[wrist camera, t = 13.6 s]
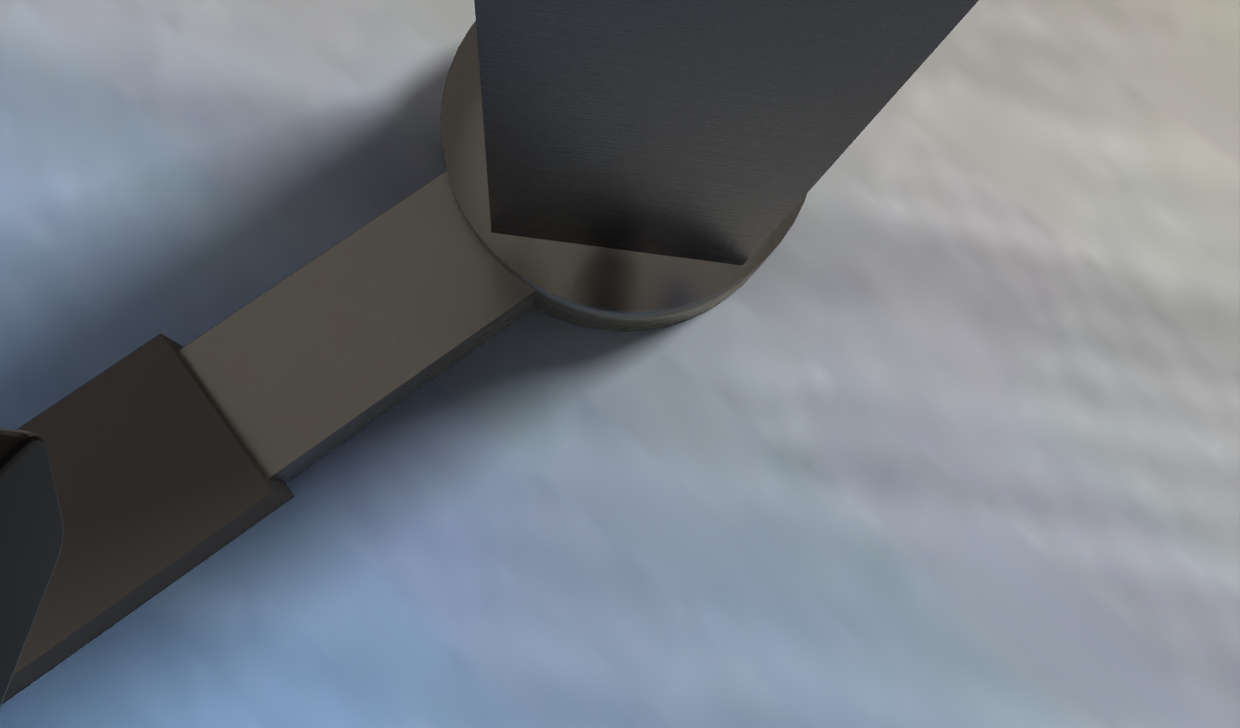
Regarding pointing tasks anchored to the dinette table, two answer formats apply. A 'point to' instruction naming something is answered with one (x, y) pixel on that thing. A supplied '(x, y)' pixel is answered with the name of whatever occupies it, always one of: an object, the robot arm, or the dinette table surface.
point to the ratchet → (314, 377)
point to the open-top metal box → (682, 111)
